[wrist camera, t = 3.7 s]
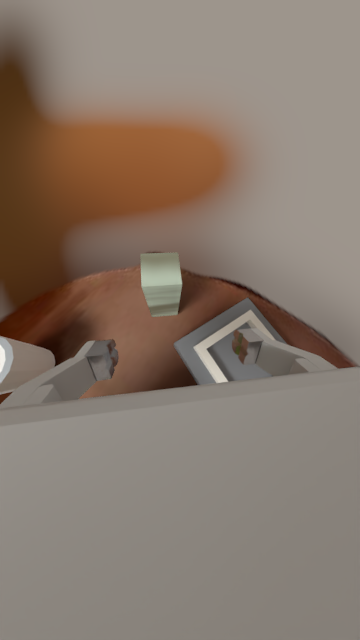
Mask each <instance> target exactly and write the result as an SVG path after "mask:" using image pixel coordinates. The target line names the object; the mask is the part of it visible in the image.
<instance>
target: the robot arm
mask: <svg viewBox="0 0 360 640" xmlns="http://www.w3.org/2000/svg"><path fill="white" fill-rule="evenodd" d="M233 336H234V337H235V338H234V339H233V340H232V349H233V351H234V353H235V354H237V355H239V356H238V358H239V360H240V361H241V363H242V364H243V365H249V364H256V365H257V366H259V367H260V368H262V369H263V370H265V371H266V372H268V373H269V374H271V375H272V376H273V377H265V378H256V379H247V380H239V381H230V382H221V383H213V384H204V385H196V386H187V387H179V388H170V389H162V390H153V391H145V392H136V393H127V394H119V395H110V396H102V397H93V398H84V399H79V398H80V397H81V396H82V395H83V394H84V393H85V392H86V391H87V390H88V389H89V388H90V387H91V386H92V385H93V384H94V383H95V382H96V381H99V380H106V379H111V378H112V376H113V373H114V371H115V370H114V367H115V366H116V365H117V363H118V351H117V350H116V349H115V346H116V344H115V341H114V340H113V339H112V340H97V341H96V340H95V341H87V342H86V343H85V345H84V346H83V347H82V348H81V349H80V351H79V352H78V353H77V354H76V356H75V357H74V358H70V359H68V360H66V361H65V362H63V363H61V364H59V365H57V366H56V367H54V368H52V369H50V370H48V371H47V372H45V373H43V374H41V375H39V376H38V377H36V378H34V379H32V380H30V381H28V382H27V383H25V384H23V385H21V386H19V387H18V388H17V389H16V390H15V391H14V392H13V393H12V394H11V395H10V396H9V397H8V398H7V399H5V400H4V401H3V402H2V403H1V404H0V640H360V366H359V367H350V368H341V369H338V368H336V367H335V366H333V365H332V364H330V363H329V362H327V361H326V360H324V359H323V358H322V357H320V356H318V355H315V354H312V353H310V352H307V351H304V350H301V349H298V348H296V347H293V346H290V345H287V344H284V343H282V342H279V341H276V340H272V339H270V338H269V337H268V336H267V335H265V334H264V333H263V332H262V331H260V330H259V329H258V328H249V329H240V330H235V331H234V334H233Z"/></svg>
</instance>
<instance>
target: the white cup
mask: <svg viewBox="0 0 360 640" xmlns="http://www.w3.org/2000/svg"><path fill="white" fill-rule="evenodd" d="M54 366H55V358H54V355H53V354H52V352H51V351H50V350H47V349H45V348H42V347H38V346H35V345H31V344H27V343H24V342H20V341H16V340H13V339H9V338H5V337H2V336H0V394H4V393H8V392H12V391H15V390H16V389H17V388H18V387H19V386H21V385H23V384H25V383H27V382H28V381H30V380H32V379H34V378H36V377H38V376H39V375H41V374H43V373H45V372H47V371H48V370H50V369H52V368H54Z"/></svg>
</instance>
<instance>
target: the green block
mask: <svg viewBox="0 0 360 640" xmlns="http://www.w3.org/2000/svg"><path fill="white" fill-rule="evenodd" d="M141 282H142V289H143V292H144V295H145V298H146V301H147V304H148V307H149V310H150V312H151V315H152V317H157V316H169V315H178V308H179V302H180V296H181V289H182V279H181V272H180V264H179V258H178V253H153V254H141Z"/></svg>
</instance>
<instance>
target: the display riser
mask: <svg viewBox="0 0 360 640" xmlns="http://www.w3.org/2000/svg"><path fill="white" fill-rule="evenodd" d="M249 328H258V329H259V330H260V331H262V332H263V333H264V334H265V335H267V336H268V337H269V338H270V339H272V340H276V341H279V342H282V343H284V344H287V343H286V342H285V341H284V340H283V339H282V337H281V336H280V335H279V334H278V333H277V332H276V330H275V329H274V328H273V327H272V326H271V324H270V323H269V322H268V321H267V320H266V318H265V317H264V316H263V315H262V314H261V312H260V311H259V310H258V309H257V308H256V306H255V305H254V304H253V303H252V302H251V300H250V299H249V298H248V297H247V298H246V299H244V300H243V301H241V302H239V303H238V304H236V305H235V306H233V307H231V308H230V309H228V310H226V311H225V312H223V313H222V314H220V315H218V316H217V317H215V318H214V319H212V320H210V321H209V322H207V323H206V324H204V325H202V326H201V327H199V328H198V329H196V330H194V331H193V332H191V333H189V334H188V335H186V336H185V337H183V338H181V339H180V340H178V341H177V342H175V343H174V347H175V349H176V350H177V352H178V354H179V355H180V357H181V359H182V360H183V362H184V363H185V365H186V367H187V368H188V370H189V372H190V373H191V375H192V376H193V378H194V380H195V381H196V383H197V384H198V385H204V384H213V383H221V382H230V381H239V380H247V379H256V378H265V377H273V376H272V375H271V374H269V373H268V372H266V371H265V370H263V369H262V368H260V367H259V366H257V365H256V364H249V365H243V364H242V363H241V361H240V360H239V358H238V356H239V355H237V354H235V353H234V351H233V349H232V340H233V339H234V338H235V337H234V336H233V334H234V331H235V330H240V329H249Z"/></svg>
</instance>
